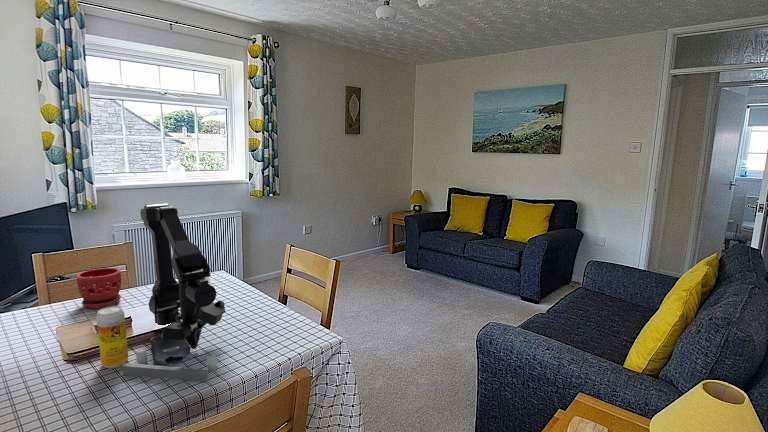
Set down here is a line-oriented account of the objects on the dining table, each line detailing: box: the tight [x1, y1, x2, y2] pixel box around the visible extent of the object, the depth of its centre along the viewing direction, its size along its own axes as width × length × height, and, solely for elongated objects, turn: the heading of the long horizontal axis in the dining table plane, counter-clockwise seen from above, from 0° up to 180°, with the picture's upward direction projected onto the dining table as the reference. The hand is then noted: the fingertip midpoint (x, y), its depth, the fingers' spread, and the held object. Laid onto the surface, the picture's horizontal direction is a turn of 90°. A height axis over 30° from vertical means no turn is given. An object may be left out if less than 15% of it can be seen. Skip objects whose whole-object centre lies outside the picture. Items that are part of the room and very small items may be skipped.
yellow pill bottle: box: [96, 305, 129, 369], centre depth 108 cm, size 6×6×15 cm
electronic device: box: [149, 333, 191, 367], centre depth 115 cm, size 9×6×15 cm
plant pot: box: [76, 267, 122, 309], centre depth 148 cm, size 13×13×12 cm
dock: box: [121, 348, 219, 383], centre depth 106 cm, size 22×7×4 cm, turn 83°
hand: (194, 348), depth 116 cm, fingers closed
